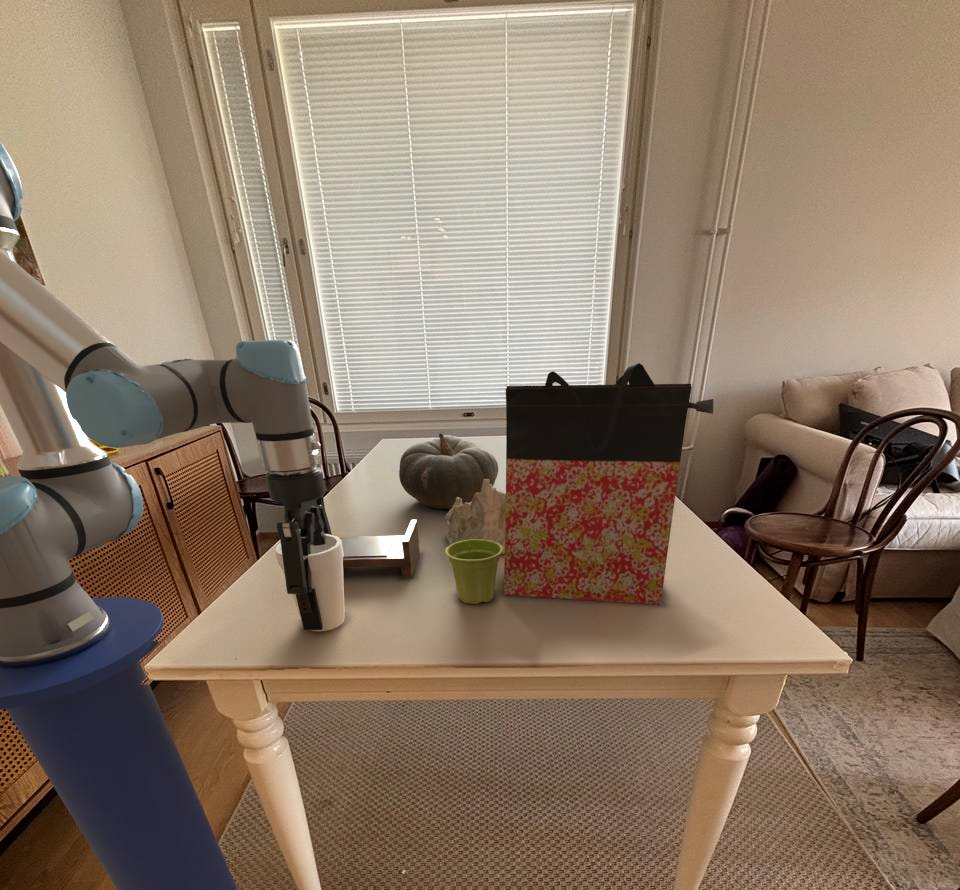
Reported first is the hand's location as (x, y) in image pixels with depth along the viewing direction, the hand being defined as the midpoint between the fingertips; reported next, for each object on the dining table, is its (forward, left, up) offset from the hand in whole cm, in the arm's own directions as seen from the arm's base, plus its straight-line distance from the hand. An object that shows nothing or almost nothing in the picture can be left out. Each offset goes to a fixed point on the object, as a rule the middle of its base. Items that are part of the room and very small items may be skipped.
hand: (322, 612), depth 85 cm
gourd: (+16, +64, -2) cm, 66 cm away
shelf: (+4, +22, -2) cm, 22 cm away
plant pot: (+24, +8, -2) cm, 25 cm away
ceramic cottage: (+26, +34, -2) cm, 43 cm away
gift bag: (+44, +10, -2) cm, 45 cm away
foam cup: (0, 0, -2) cm, 2 cm away
